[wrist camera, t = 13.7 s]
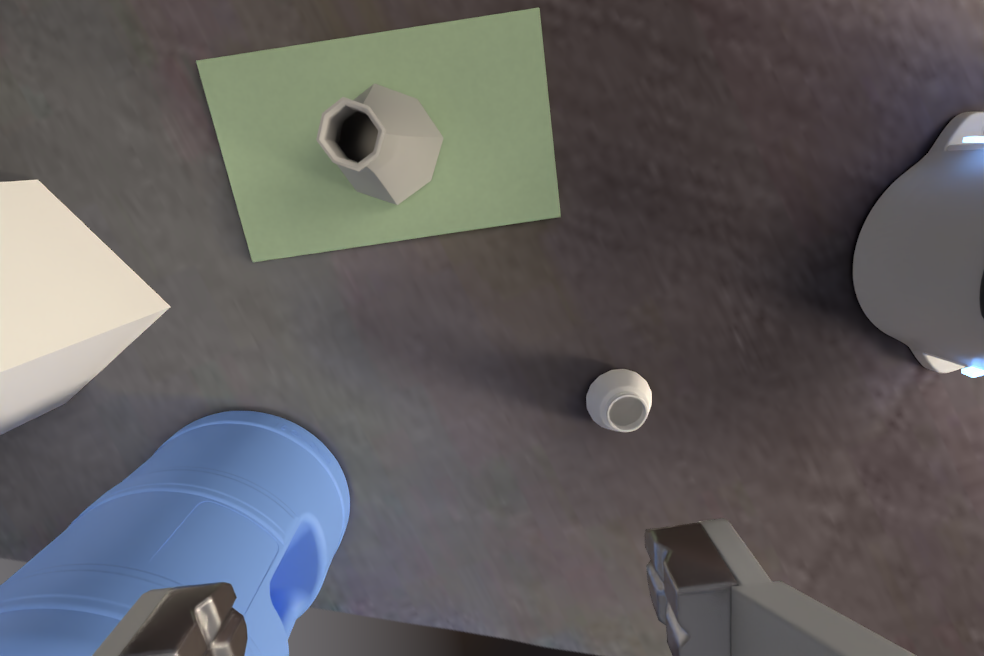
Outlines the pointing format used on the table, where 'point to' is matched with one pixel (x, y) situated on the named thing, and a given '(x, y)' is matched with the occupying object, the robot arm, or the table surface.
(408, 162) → the flask
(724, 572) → the robot arm
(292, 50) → the placemat
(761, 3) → the table surface
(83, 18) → the table surface
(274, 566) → the water jug
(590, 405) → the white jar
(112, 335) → the milk
